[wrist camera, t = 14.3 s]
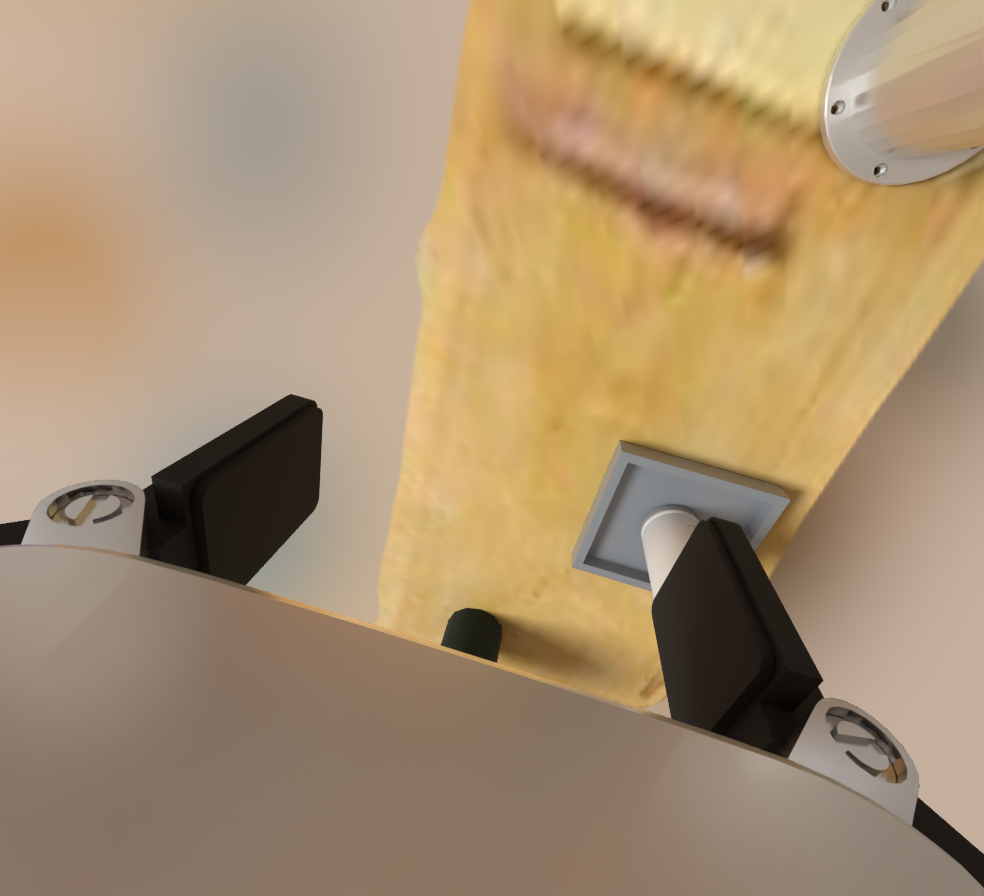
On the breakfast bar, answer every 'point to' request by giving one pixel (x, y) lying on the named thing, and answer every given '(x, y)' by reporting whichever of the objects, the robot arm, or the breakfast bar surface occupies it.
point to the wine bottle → (473, 634)
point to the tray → (657, 482)
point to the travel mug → (665, 539)
